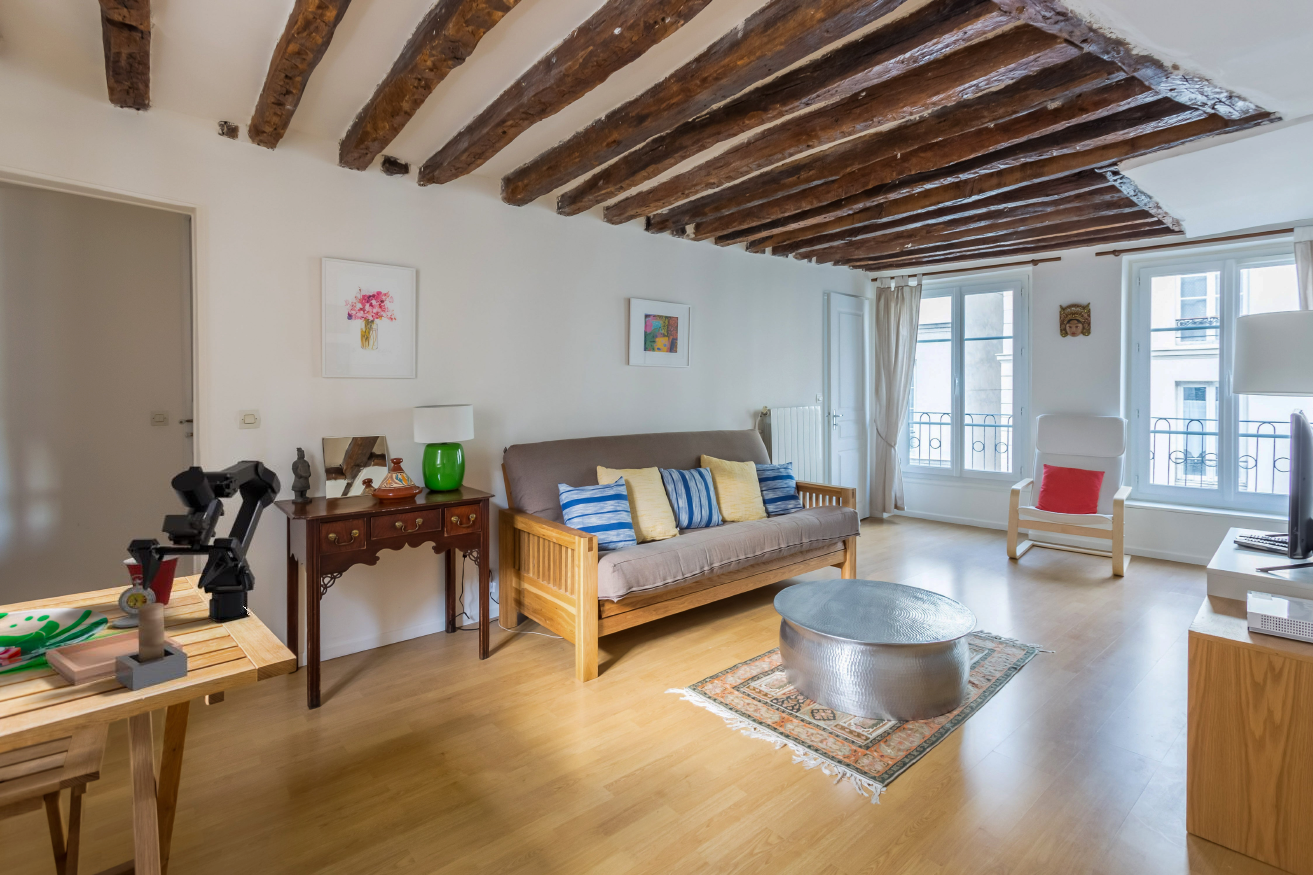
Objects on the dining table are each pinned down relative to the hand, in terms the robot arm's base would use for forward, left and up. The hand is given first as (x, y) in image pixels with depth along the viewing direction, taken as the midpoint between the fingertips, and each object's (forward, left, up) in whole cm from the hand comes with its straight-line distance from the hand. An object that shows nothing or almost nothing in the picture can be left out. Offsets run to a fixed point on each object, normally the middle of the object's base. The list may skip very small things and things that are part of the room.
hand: (171, 588), depth 122 cm
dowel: (+5, +6, -14) cm, 16 cm away
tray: (+6, -8, -14) cm, 17 cm away
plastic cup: (-11, -41, -14) cm, 44 cm away
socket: (+5, +6, -14) cm, 16 cm away
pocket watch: (-4, -30, -14) cm, 33 cm away
